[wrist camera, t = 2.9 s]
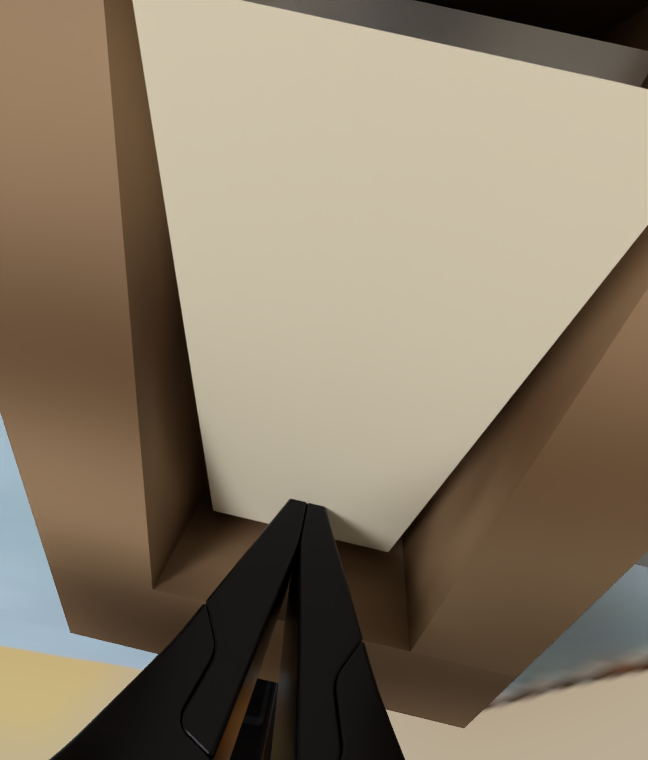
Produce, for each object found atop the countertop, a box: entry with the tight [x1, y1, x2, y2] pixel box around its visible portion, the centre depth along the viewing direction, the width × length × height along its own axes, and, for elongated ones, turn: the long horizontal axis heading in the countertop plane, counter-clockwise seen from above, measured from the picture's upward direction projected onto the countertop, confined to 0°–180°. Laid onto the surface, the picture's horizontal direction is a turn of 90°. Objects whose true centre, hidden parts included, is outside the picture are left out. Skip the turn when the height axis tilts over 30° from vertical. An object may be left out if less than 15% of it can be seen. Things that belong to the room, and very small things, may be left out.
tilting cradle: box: [244, 0, 648, 87], centre depth 8 cm, size 11×6×1 cm, turn 169°
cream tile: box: [132, 0, 648, 552], centre depth 7 cm, size 10×5×2 cm, turn 169°
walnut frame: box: [0, 0, 648, 728], centre depth 8 cm, size 19×12×6 cm, turn 169°
